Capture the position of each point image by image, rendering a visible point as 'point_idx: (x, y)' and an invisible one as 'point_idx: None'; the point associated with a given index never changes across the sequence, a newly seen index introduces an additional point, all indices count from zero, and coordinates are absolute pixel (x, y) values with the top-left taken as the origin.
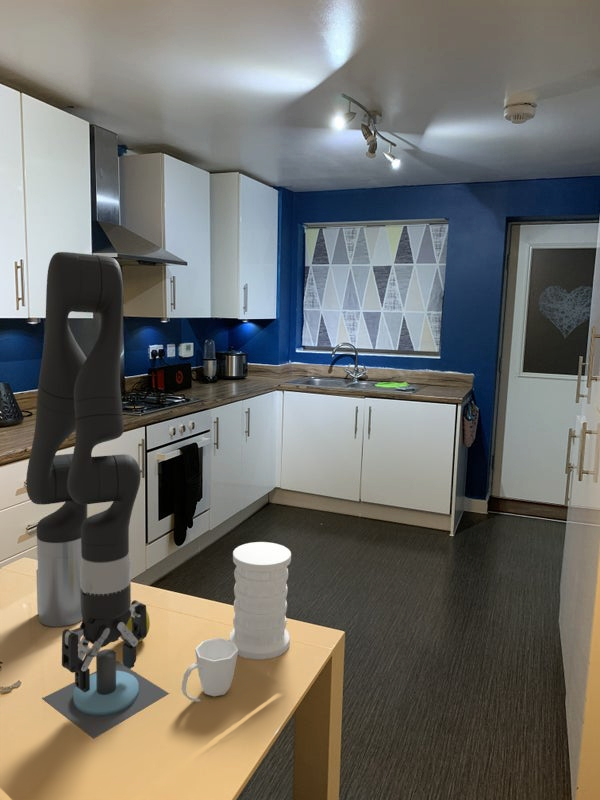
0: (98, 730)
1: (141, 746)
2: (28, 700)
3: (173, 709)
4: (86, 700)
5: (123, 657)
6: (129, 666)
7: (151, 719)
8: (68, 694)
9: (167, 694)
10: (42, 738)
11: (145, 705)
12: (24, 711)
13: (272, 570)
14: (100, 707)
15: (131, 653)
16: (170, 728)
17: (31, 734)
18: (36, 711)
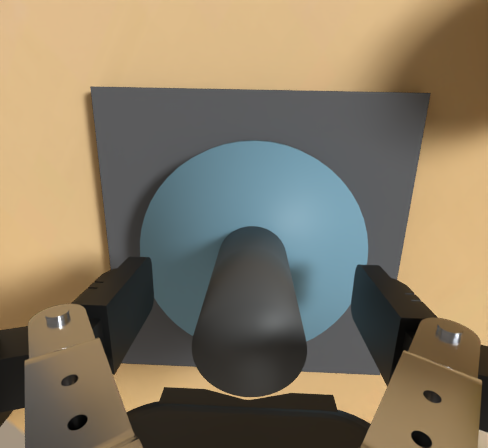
0: (146, 349)
1: None
2: (64, 37)
3: (340, 406)
4: (168, 259)
5: (367, 284)
6: (353, 310)
7: (276, 394)
8: (170, 142)
9: (373, 373)
10: (31, 250)
11: None
12: (31, 90)
13: None
14: (181, 319)
15: (379, 366)
16: None
17: (13, 212)
18: (62, 123)
